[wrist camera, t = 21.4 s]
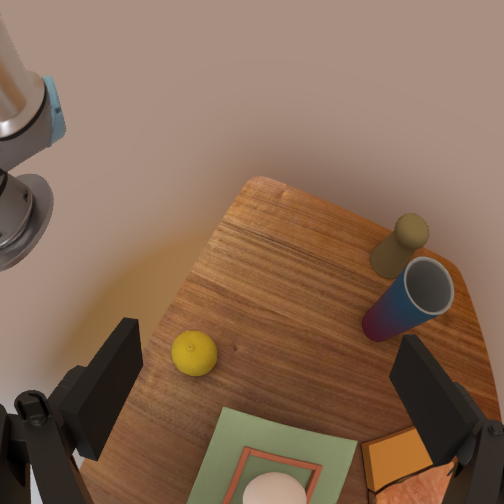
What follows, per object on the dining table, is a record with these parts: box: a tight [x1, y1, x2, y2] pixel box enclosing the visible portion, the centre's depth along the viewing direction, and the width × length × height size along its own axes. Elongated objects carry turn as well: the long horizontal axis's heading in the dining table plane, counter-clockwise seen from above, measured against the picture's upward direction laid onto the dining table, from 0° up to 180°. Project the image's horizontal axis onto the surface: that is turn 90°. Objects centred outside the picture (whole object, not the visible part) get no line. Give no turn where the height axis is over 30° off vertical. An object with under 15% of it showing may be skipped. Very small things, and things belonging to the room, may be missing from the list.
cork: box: [370, 213, 429, 279], centre depth 43 cm, size 6×6×11 cm
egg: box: [243, 472, 307, 504], centre depth 20 cm, size 5×5×8 cm
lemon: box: [171, 330, 218, 376], centre depth 36 cm, size 6×6×8 cm
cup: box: [362, 257, 454, 342], centre depth 36 cm, size 7×7×15 cm
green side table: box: [187, 407, 358, 504], centre depth 27 cm, size 14×14×12 cm
